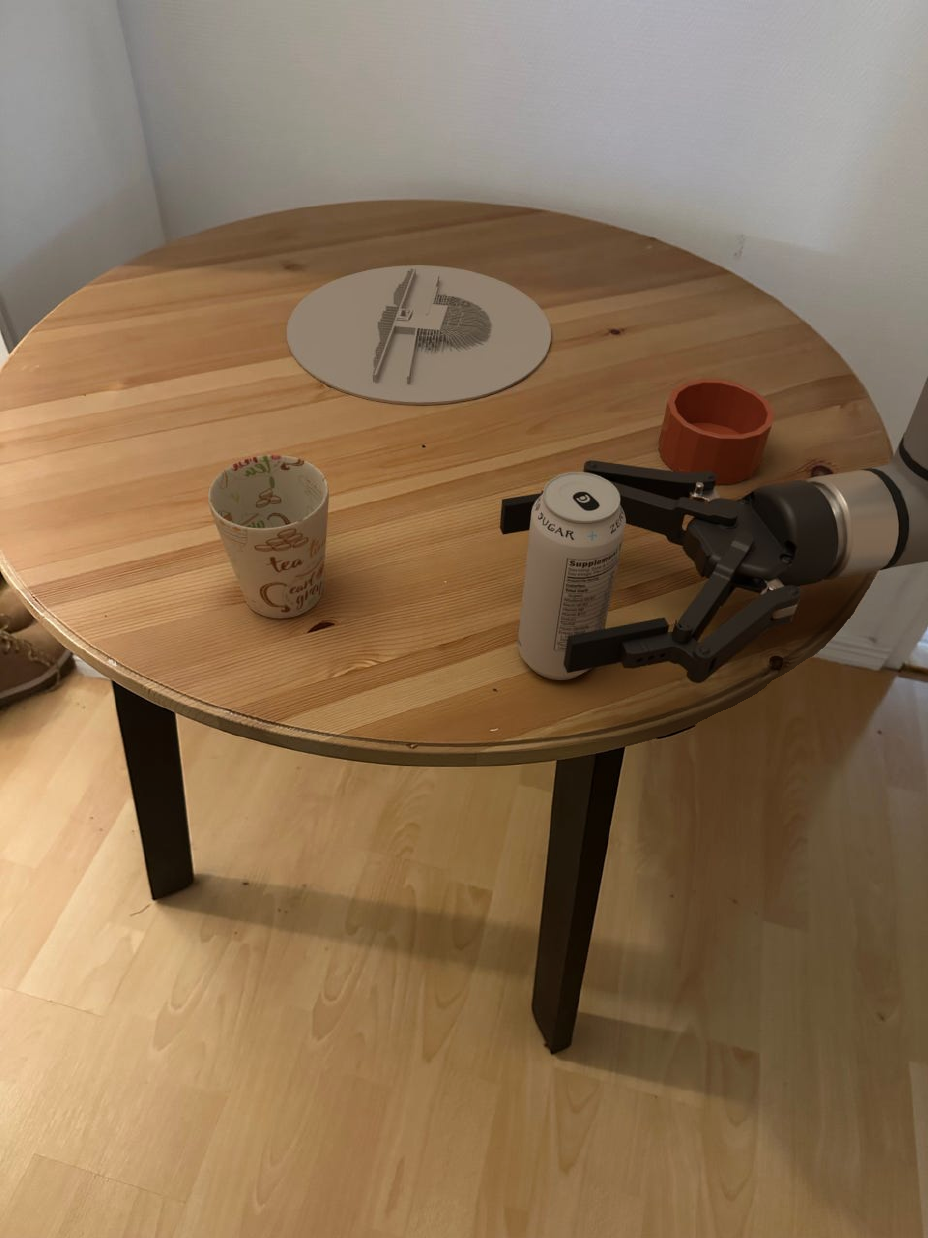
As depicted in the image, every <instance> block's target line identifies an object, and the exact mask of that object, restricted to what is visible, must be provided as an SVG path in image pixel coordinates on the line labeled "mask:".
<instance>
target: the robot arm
mask: <svg viewBox="0 0 928 1238" xmlns="http://www.w3.org/2000/svg"><path fill="white" fill-rule="evenodd" d="M582 472H585V473H591V474H595V475H598V476H600V477H602V478H604V479H606V480H608V481H609V482H610V483H612V484H613V485H614V486H615V487H616V489H617V491H618V492H619V495H620V505H621V507H622V509H623V511H624V514H625V518H626V524H627V525H629V526H632V527H636V528H639V529H642V530H646V531H649V532H652V533H656V534H659V535H661V536H662V535H663V536H664V537H666V539H667V541H668V542H669V543H671V544H674V545H677V546H680V547H682V550H683V552H684V554H685V555H686V556H687V557H688V558H689V559H690V560H691V561H692V562H693V563H694V566H695V570H696V572H697V573H698V575H699V576H700V578H706V579H707V581H706V582H705V583H704V585H703V586H702V588H701V589H700V590H699V592H697V594H696V596H695V597H694V599H693V600H692V602H691V603H690V604H689V606H688V607H687V609H686V610H685V611H684V613H683V614H682V615H681V616H680V618H679V619H675V621H674V624H673V628H672V631H669V629H670V624H669V623H668V621H667V619H666V617H665V616H664V617H658V618H653V619H649V620H644V621H638V622H633V623H627V624H622V625H618V626H617V625H616V626H613V627H608V628H605V629H601V630H596V631H591V632H586V633H581V634H576V635H571V636H568V639H567V645H566V651H565V657H564V664H563V665H564V667H565V669H566V671H567V673H571V672H576V671H581V670H586V669H589V670H591V669H595V668H599V667H604V666H610V665H616V664H620V663H621V664H622V667H623V668H624V669H638V668H641V667H648V666H653V665H657V664H662V663H668V662H669V663H671V664H674V665H679V666H680V667H682V668H683V669H684V670H685V671H686V676H687V679H688V680H689V681H690V682H692V683H695V684H701V683H703V682H705V681H706V680H707V679H709V678H710V677H711V676H712V675H713V674H715V673H716V672H717V671H718V670H720V669H721V668H722V667H723V666H725V664H727V663H728V662H729V661H731V660H732V659H733V658H734V657H735V656H737V655H738V654H739V653H741V652H742V651H743V650H744V649H745V648H747V647H748V646H749V645H750V644H752V643H753V642H754V641H755V640H757V639H758V638H759V637H760V636H761V635H762V634H764V633H765V632H766V631H767V630H769V629H773V628H776V627H780V626H783V625H785V624H788V623H790V622H791V621H792V620H793V617H794V616H795V613H796V610H797V608H798V606H799V603H800V601H801V598H802V595H803V591H802V589H801V588H800V587H805V586H810V585H814V584H818V583H820V582H823V581H832V580H838V579H843V578H846V577H853V576H858V575H864V574H869V573H874V572H878V571H879V572H880V571H884V570H888V569H892V568H897V567H903V566H908V565H909V566H910V565H914V564H915V565H916V564H920V563H926V562H928V376H927V377H926V379H925V382H924V385H923V387H922V389H921V393H920V395H919V397H918V400H917V402H916V404H915V406H914V410H913V412H912V414H911V417H910V419H909V422H908V424H907V427H906V429H905V431H904V432H903V434H902V437H901V439H900V441H899V443H898V445H897V447H896V450H895V452H894V454H893V456H892V459H891V461H890V462H889V463H888V464H883V465H878V466H873V467H869V468H863V469H858V470H852V471H851V470H850V471H845V472H838V473H831V474H825V475H818V476H814V477H810V478H806V479H804V480H803V479H797V480H792V481H791V480H790V481H785V482H778V483H774V484H768V485H762V486H759V487H757V488H755V489H753V490H752V491H751V492H749V493H747V494H746V495H744V496H742V497H741V498H737V499H731V498H724V497H720V494H719V493H718V491H717V489H716V485H715V484H716V480H717V475H716V474H715V473H713V472H710V471H704V472H692V473H681V472H675V471H673V470H667V469H666V470H665V469H658V468H651V467H646V466H645V467H644V466H636V465H629V464H622V463H615V462H608V461H600V460H593V459H591V460H586V461H585V462H584V464H583V470H582ZM543 491H544V489H542V490H541V492H539V493H533V494H527V495H520V496H514V497H508V498H502V499H501V504H500V505H501V507H500V522H499V530H500V532H501V534H502V535H503V536H504V535H511V534H515V533H516V534H517V533H522V532H527V531H528V532H529V530H530V521H531V512H532V507H533V505H534V503H535V502H536V501H537V499H538V498H539V497H540V496H541V495H542V494H543ZM685 516H689V517H692V518H691V520H689V522H687V525H686V526H685V527H686V528H685V529H684V528H683V524H684V521H685ZM736 589H741V590H745V591H748V592H752V593H756V594H757V593H758V594H759V596H758V597H756V598H755V599H753V600H752V601H751V602H749V603H748V604H747V605H746V606H744V607H743V608H742V609H740V610H739V611H738V612H737V613H736V614H734V615H733V616H732V617H730V618H729V619H728V620H726V621H725V622H724V623H723V624H721V625H720V626H719V627H718V628H716V629H715V630H714V631H712V632H711V633H710V634H708V636H706V637H705V638H704V639H702V640H701V641H700V642H698V641H699V640H700V638H701V636H702V635H703V634H704V632H705V631H706V629H707V628H708V627H709V624H711V622H712V621H713V619H714V618H715V616H716V615H717V613H718V612H719V610H720V609H721V608H723V607H724V606H725V604H726V602H727V601H728V600H729V598H730V597H731V596H732V594H733V592H734V591H735V590H736Z"/></svg>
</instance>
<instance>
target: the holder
mask: <svg viewBox="0 0 928 1238" xmlns="http://www.w3.org/2000/svg"><path fill="white" fill-rule="evenodd" d="M774 418H775V412H774V410H773V407H772V405H771V403H770V402H769V401H768V400H767V399H766V398H765V397H764V396H763V395H761V393H759V392H758V391H756V390H755V389H752V388H750V387H748V386H746V385H744V384H741V383H739V382H733V381H730V380H725V379H718V378H717V379H716V378H713V379H711V378H699V379H695V380H690V381H687V382H683V383H682V384H680V385H679V386H678V387H676V388H674V389H673V390H672V391H671V393H670V395H669V397H668V400H667V403H666V407H665V412H664V417H663V421H662V426H661V430H660V434H659V440H658V452H659V455H660V458H661V459H662V461H663V462H664V464H665V465H666V466H667V467H668V468H669V469H671V471H674V472H681V473H692V472H704V471H710V472H713V473H715V474H716V475H717V480H716V484H715V486H716V485H717V486H721V485H726V486H727V485H733V484H737V483H740V482H743V481H745V480H747V479H749V478H751V477H752V476H753V475H754V474H755V473H756V472H757V471H758V469H759V467H760V463H761V460H762V457H763V454H764V451H765V448H766V445H767V441H768V438H769V435H770V432H771V430H772V425H773V423H774Z"/></svg>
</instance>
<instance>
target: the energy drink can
mask: <svg viewBox="0 0 928 1238" xmlns="http://www.w3.org/2000/svg"><path fill="white" fill-rule="evenodd" d="M543 490H544V491H543V494H542V495H541V496H540V497H539V498H538V499H537V501H536V502H535V503H534V505H533V507H532V512H531V521H530V530H528V539H527V540H528V541H527V550H526V560H525V569H524V578H523V579H524V580H523V589H522V590H523V591H522V598H521V608H520V617H519V627H518V637H517V649H518V653H519V655H520V656H521V658H522V659H523V661H524V663H526V664H527V665H528V667H529V668H530V669H531V670H532V671H533V672H534V673H536V674H538V675H539V676H542V677H543V678H547V679H550V680H557V681H565V680H572V679H574V678H577V677H578V676H580V675H582V674H584V673H586V672H587V671H589V670H590V669H586V670H581V671H576V672H571V673H567V671H566V669H565V667H564V665H563V664H564V657H565V651H566V645H567V639H568V636H571V635H576V634H581V633H586V632H591V631H596V630H601V629H606V626H607V625H606V624H607V619H608V615H609V609H610V605H611V604H610V603H611V599H612V594H613V590H614V585H615V579H616V574H617V571H618V565H619V559H620V555H621V550H622V545H623V541H624V540H623V539H624V534H625V529H626V526H627V525H626V518H625V514H624V511H623V509H622V507H621V505H620V495H619V492H618V491H617V489H616V487H615V486H614V485H613V484H612V483H610V482H609V481H608V480H606V479H604V478H602V477H601V476H598V475H595V474H591V473H585V472H583V471H571V472H564V473H560V474H558V475H556V476H554V477H552V478H551V479H550V480H549V481H548V482H547V483H546V484H545V486H544V487H543Z"/></svg>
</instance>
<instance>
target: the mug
mask: <svg viewBox="0 0 928 1238" xmlns="http://www.w3.org/2000/svg"><path fill="white" fill-rule="evenodd" d="M329 500H330V489H329V484H328V481H327V479H326V477H325V475H324V474H323V472H322V471H321V470H320V469H319V468H318V467H317V466H315V465H313V464H312V463H310V462H309V461H307V460H305V459H302V458H298V457H295V456H290V455H283V454H266V455H264V454H263V455H257V456H252V457H249V458H245V459H243V460H240V461H238V462H235V463H233V464H231V465H230V466H228V467H226V468H225V469H224V470H222V471H221V472H220V473H219V474H218V475H217V476H216V477H215V478H214V480H213V481H212V482H211V484H210V486H209V489H208V494H207V502H208V506H209V510H210V513H211V516H212V519H213V522H214V524H215V526H216V529H217V532H218V534H219V537H220V539H221V541H222V542H221V543H222V544H223V547H224V549H225V551H226V554H227V557H228V560H229V563H230V565H231V567H232V569H233V572H234V575H235V578H236V580H237V584H238V585H239V588H240V591H241V593H242V596H243V598H244V601H245V602H246V604H247V606H248V607H249V608H250V609H251V610H252V611H253V612H254V613H256V614H258V615H261V616H263V617H265V618H269V619H270V618H271V619H280V620H281V619H289V618H294V617H295V618H296V617H297V616H300V615H303V614H304V613H306V612H308V611H310V610H311V609H312V608H314V606H316V604H317V603H318V602H319V601H320V599H321V596H322V594H323V590H324V577H325V562H326V561H325V560H326V547H327V533H328V518H329V517H328V516H329V502H330V501H329Z"/></svg>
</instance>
